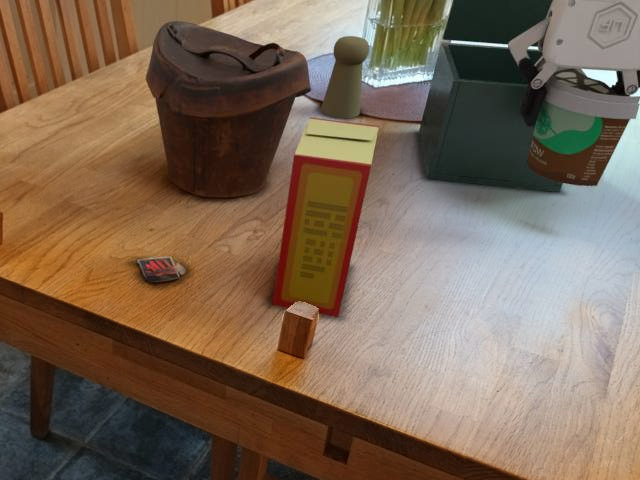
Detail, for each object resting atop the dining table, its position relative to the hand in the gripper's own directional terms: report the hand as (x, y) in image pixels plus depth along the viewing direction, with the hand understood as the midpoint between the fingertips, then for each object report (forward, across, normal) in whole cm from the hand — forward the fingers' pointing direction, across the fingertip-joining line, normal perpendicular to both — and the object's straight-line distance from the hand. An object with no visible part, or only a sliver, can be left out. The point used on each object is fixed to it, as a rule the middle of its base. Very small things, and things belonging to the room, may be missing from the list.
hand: (565, 123), depth 78 cm
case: (+12, -38, +4) cm, 40 cm away
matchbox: (+11, -40, -20) cm, 47 cm away
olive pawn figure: (+12, -23, +33) cm, 42 cm away
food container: (+5, 0, 0) cm, 5 cm away
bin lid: (-9, -2, +25) cm, 27 cm away
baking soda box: (+12, -25, -19) cm, 34 cm away
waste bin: (+13, -3, +19) cm, 23 cm away
